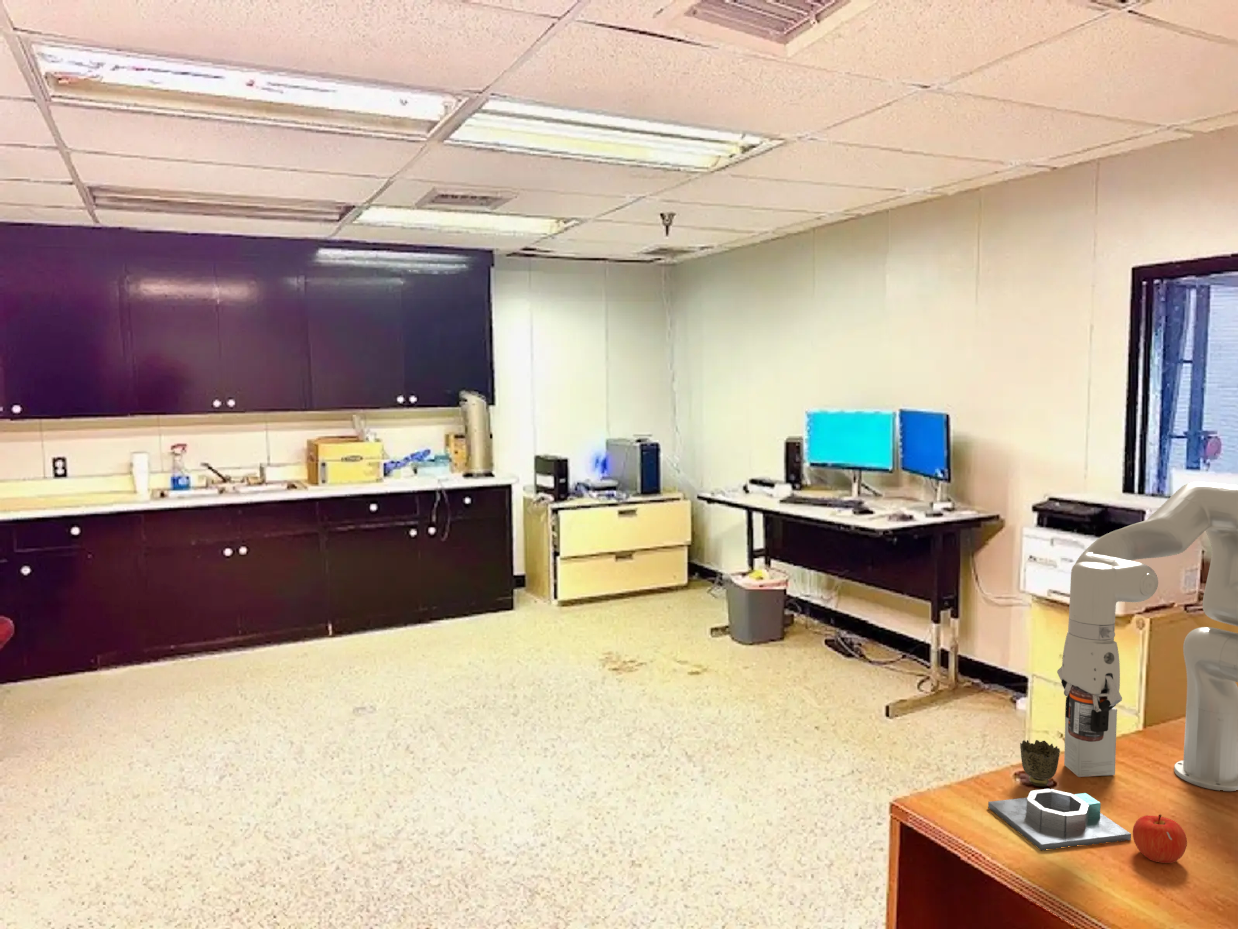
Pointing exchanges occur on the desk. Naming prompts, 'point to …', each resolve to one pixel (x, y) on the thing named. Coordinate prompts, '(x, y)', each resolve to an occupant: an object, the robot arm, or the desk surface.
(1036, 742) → the cup
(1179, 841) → the apple
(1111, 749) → the skincare box
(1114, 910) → the desk surface
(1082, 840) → the hub plate
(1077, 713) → the supplement bottle
